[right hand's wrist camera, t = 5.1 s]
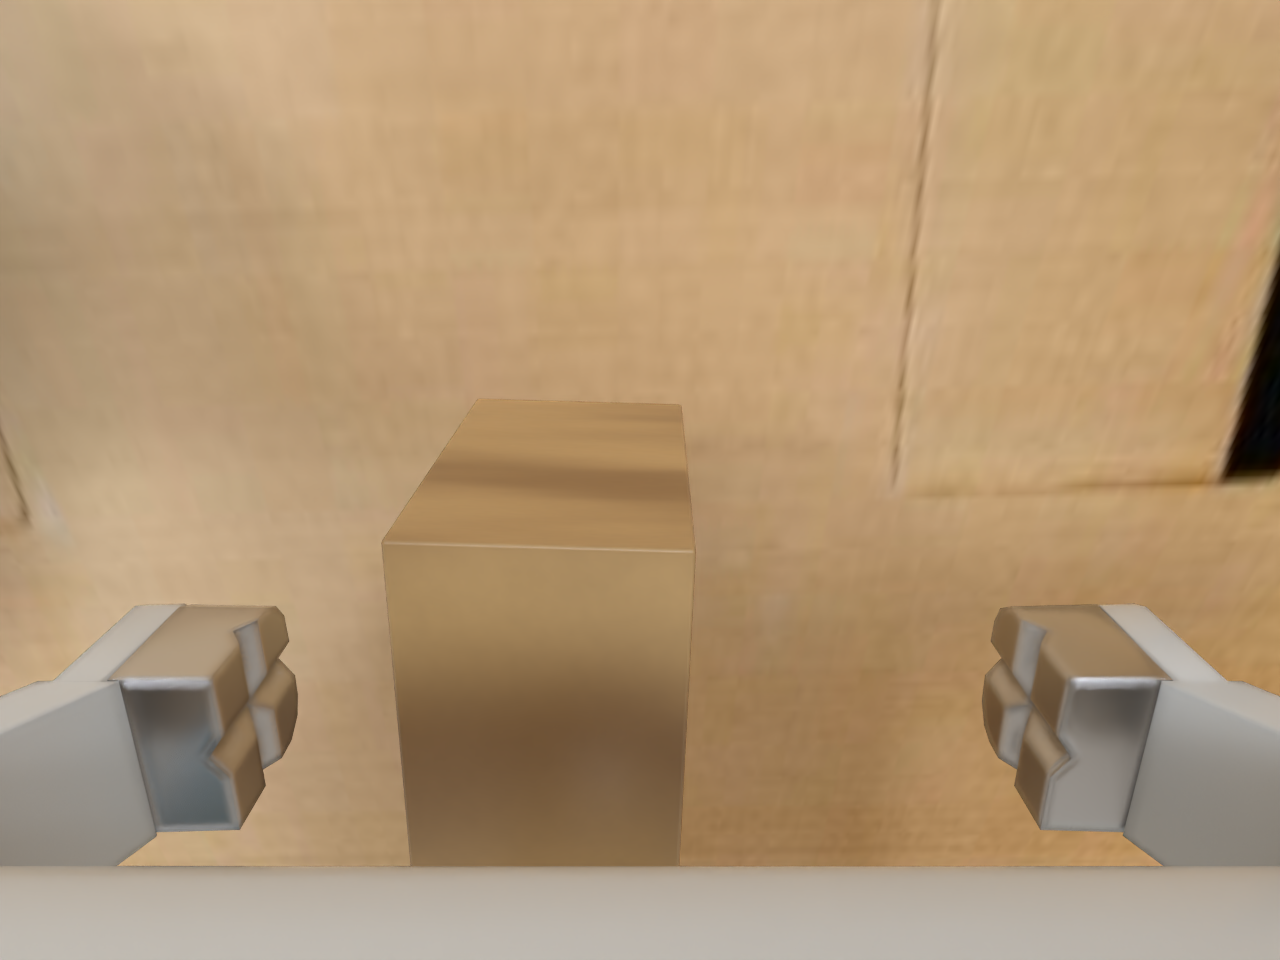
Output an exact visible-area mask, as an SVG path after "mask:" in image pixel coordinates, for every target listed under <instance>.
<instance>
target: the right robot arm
mask: <svg viewBox="0 0 1280 960" xmlns="http://www.w3.org/2000/svg"><path fill="white" fill-rule="evenodd" d="M288 642H289V638H288V633H287V628H286V623H285V618H284V615H283V614H282V613H281V612H280V610H279V609H278V608H277V607H276V606H236V605H186V604H155V605H140V606H135V607H134V608H132V609H131V610H130V611H129V612H128V613H127V614H126V615H125V616H124V617H123V618H121V619H120V620H119V621H118V622H117V623H116V624H115V625H114V626H113V627H112V628H110V629H109V630H108V631H107V632H106V633H105V634H104V635H103V636H102V637H101V638H99V639H98V640H97V641H96V642H95V643H94V644H93V645H92V646H91V647H90V648H88V649H87V650H86V651H85V652H84V653H83V654H82V655H81V656H80V657H79V658H77V659H76V660H75V661H74V662H73V663H72V664H71V665H70V666H69V667H68V668H66V669H65V670H64V671H63V672H62V673H61V674H60V675H59V676H58V677H57V678H55V679H54V680H53V681H37V682H35V683H32V684H30V685H27V686H25V687H22V688H20V689H17V690H15V691H12V692H10V693H7V694H5V695H2V696H0V960H1280V696H1278V695H1275V694H1273V693H1270V692H1268V691H1265V690H1263V689H1260V688H1258V687H1255V686H1253V685H1250V684H1248V683H1245V682H1243V681H1227V680H1226V679H1225V678H1223V677H1222V676H1221V675H1220V674H1219V673H1218V672H1217V671H1216V670H1215V669H1214V668H1213V667H1211V666H1210V665H1209V664H1208V663H1207V662H1206V661H1205V660H1204V659H1203V658H1202V657H1200V656H1199V655H1198V654H1197V653H1196V652H1195V651H1194V650H1193V649H1192V648H1191V647H1189V646H1188V645H1187V644H1186V643H1185V642H1184V641H1183V640H1182V639H1181V638H1180V637H1179V636H1177V635H1176V634H1175V633H1174V632H1173V631H1172V630H1171V629H1170V628H1169V627H1168V626H1166V625H1165V624H1164V623H1163V622H1162V621H1161V620H1160V619H1159V618H1158V617H1157V616H1156V615H1154V614H1153V613H1152V612H1151V611H1150V610H1149V609H1148V608H1147V607H1144V606H1141V605H1138V604H1111V605H1055V606H1014V607H1006V608H1000V610H999V613H998V615H997V617H996V619H995V621H994V626H993V632H992V637H991V642H992V644H993V645H994V647H995V649H996V650H997V652H998V653H999V655H1000V656H1001V659H1000V660H999V661H998V662H997V664H996V665H995V666H994V667H993V668H992V669H991V670H990V671H989V672H988V673H987V674H986V675H985V681H984V689H983V696H982V707H983V718H984V726H985V729H986V732H987V735H988V739H989V742H990V744H991V746H992V747H993V749H994V751H995V753H996V755H997V756H998V758H999V759H1001V760H1003V761H1004V762H1006V763H1007V764H1009V765H1011V766H1012V767H1014V768H1015V769H1017V774H1016V779H1015V785H1014V786H1015V788H1016V789H1017V791H1018V793H1019V794H1020V796H1021V798H1022V799H1023V801H1024V803H1025V804H1026V806H1027V808H1028V810H1029V811H1030V813H1031V815H1032V816H1033V818H1034V820H1035V821H1036V823H1037V825H1038V826H1039V828H1040V830H1065V831H1102V832H1124V833H1123V836H1124V837H1125V838H1127V839H1128V840H1129V841H1131V842H1132V843H1133V844H1135V845H1136V846H1138V847H1139V848H1140V849H1142V850H1143V851H1144V852H1146V853H1147V854H1148V855H1150V856H1151V857H1152V858H1154V859H1155V860H1156V861H1158V862H1159V863H1160V864H1162V865H1163V866H117V865H119V864H120V863H121V862H123V861H124V860H125V859H127V858H128V857H129V856H131V855H132V854H133V853H135V852H136V851H137V850H139V849H140V848H141V847H143V846H144V845H145V844H147V843H148V842H150V841H151V840H152V839H154V838H155V837H156V836H157V833H156V832H177V831H212V830H240V828H241V827H242V825H243V823H244V822H245V820H246V818H247V816H248V815H249V813H250V811H251V810H252V808H253V806H254V805H255V803H256V801H257V799H258V798H259V796H260V794H261V793H262V791H263V789H264V787H265V786H266V785H265V779H264V774H263V769H265V768H266V767H268V766H269V765H271V764H273V763H274V762H276V761H277V760H279V759H281V758H282V756H283V755H284V753H285V751H286V749H287V747H288V745H289V744H290V742H291V740H292V736H293V731H294V727H295V723H296V719H297V706H298V693H297V687H296V680H295V675H294V674H293V673H292V672H291V671H290V670H289V669H288V668H287V667H286V666H285V665H284V664H283V662H282V661H281V660H280V659H279V656H280V655H281V653H282V652H283V650H284V649H285V647H286V645H287V644H288Z"/></svg>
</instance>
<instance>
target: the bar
mask: <svg viewBox="0 0 1280 960" xmlns="http://www.w3.org/2000/svg"><path fill="white" fill-rule="evenodd" d="M382 554H383V565H384V576H385V587H386V598H387V609H388V620H389V631H390V642H391V653H392V664H393V675H394V686H395V697H396V708H397V720H398V731H399V742H400V753H401V764H402V775H403V786H404V797H405V808H406V819H407V830H408V841H409V852H410V863H411V866H679V862H680V843H681V824H682V805H683V786H684V767H685V748H686V729H687V711H688V692H689V673H690V654H691V635H692V616H693V597H694V578H695V559H696V549H695V538H694V528H693V518H692V508H691V497H690V487H689V477H688V467H687V456H686V446H685V436H684V426H683V415H682V407H681V405H678V404H643V403H607V402H572V401H536V400H501V399H478V400H477V401H476V402H475V404H474V405H473V407H472V408H471V410H470V411H469V413H468V414H467V416H466V417H465V419H464V420H463V422H462V423H461V425H460V426H459V427H458V429H457V430H456V432H455V433H454V435H453V436H452V438H451V439H450V441H449V442H448V444H447V445H446V447H445V448H444V450H443V451H442V453H441V454H440V456H439V457H438V459H437V460H436V462H435V463H434V465H433V466H432V468H431V469H430V471H429V472H428V474H427V475H426V476H425V478H424V479H423V481H422V482H421V484H420V485H419V487H418V488H417V490H416V491H415V493H414V494H413V496H412V497H411V499H410V500H409V502H408V503H407V505H406V506H405V508H404V509H403V511H402V512H401V514H400V515H399V517H398V518H397V520H396V521H395V523H394V524H393V526H392V527H391V528H390V530H389V531H388V533H387V534H386V536H385V537H384V539H383V540H382Z"/></svg>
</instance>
